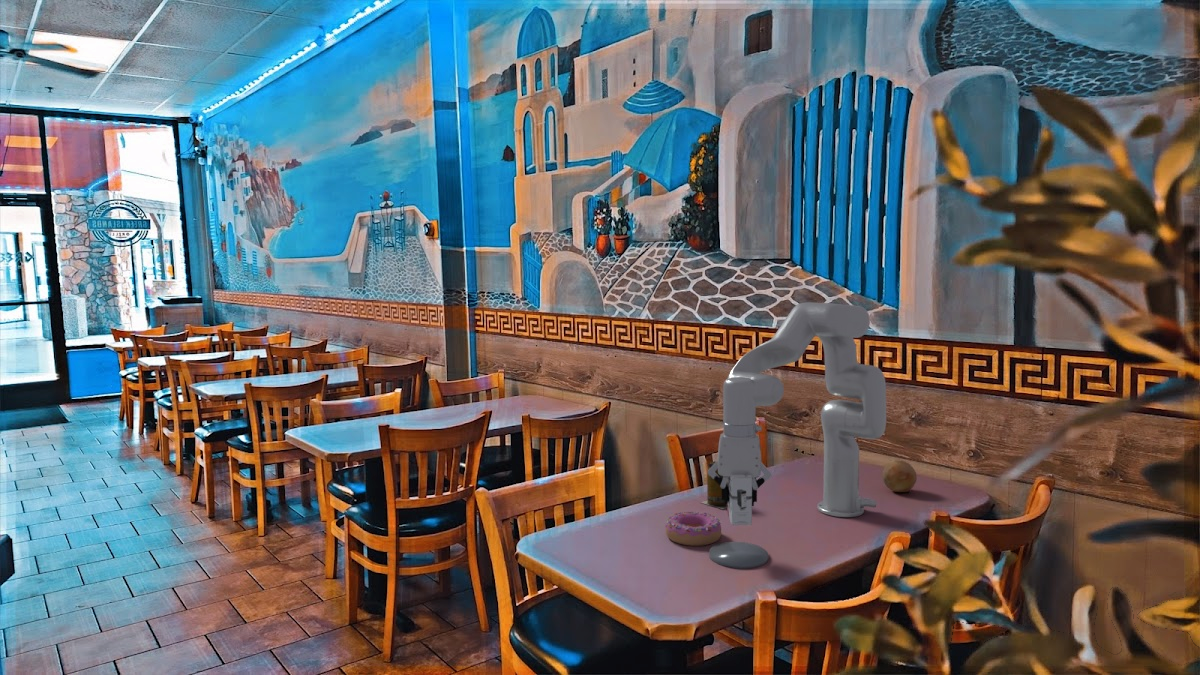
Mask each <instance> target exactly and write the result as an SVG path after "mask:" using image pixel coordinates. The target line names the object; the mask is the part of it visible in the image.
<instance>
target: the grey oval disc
mask: <svg viewBox="0 0 1200 675" xmlns="http://www.w3.org/2000/svg"><path fill="white" fill-rule="evenodd" d="M708 552H709V554H708V556H709V559H710V560H711V561H713V563H716V564H717V565H720V566H723V567H727V568H731V569H754V568H757V567H761V566H763V565H765V564H767V562H768V561H769V553H768V550H766V549H765V548H763V547H762V546H760V545H757V544H754V543H752V542H751V543H749V542H743V541H727V542H725V541H724V542H719V543H716V544H714V545H712V546H711V547H710V548H709V551H708Z"/></svg>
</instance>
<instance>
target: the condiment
mask: <svg viewBox="0 0 1200 675" xmlns="http://www.w3.org/2000/svg"><path fill="white" fill-rule="evenodd" d="M716 461H717V460H716ZM716 461H711V462H709V463H708V470H709V469H710V468H711V467H712V466H713V465H714V464H715V462H716ZM715 473H716V474H717V475H719V474H718V469H717V470H716V471H715ZM706 474H707V475H706V476H707V477H706V479H707V482H706V485H707V487H706V488H707V491H706V492H707V493H706V494H707V496H706V499H707V500H705V501H701V502H700V504H701V503H702V504H704V505H706V506H710V507H714V508H717V509H720V510H724V509H727V505H724V500H722V488H721V487H720V485H719V484H718V483H717V482H716V481H715V480H714V479H713V478H712V477H711V476H709V475H708V473H706ZM719 476H720V475H719ZM720 477H721V478H723V476H720ZM727 486H728V481H727Z"/></svg>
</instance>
